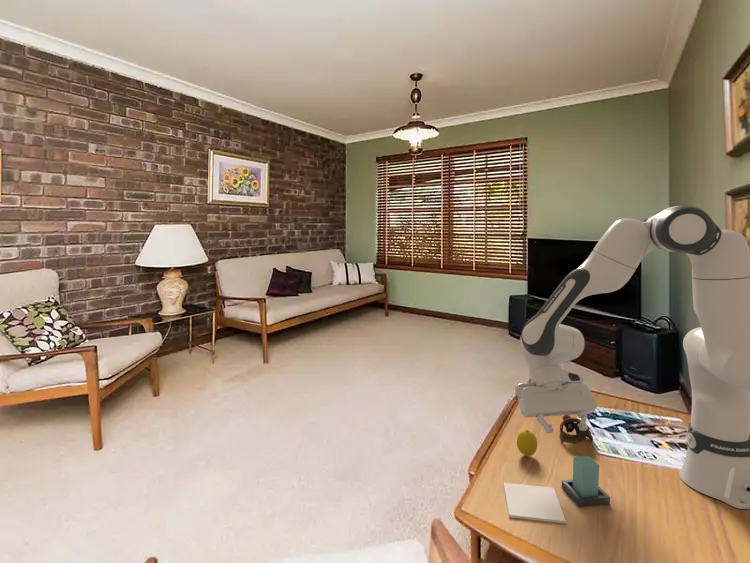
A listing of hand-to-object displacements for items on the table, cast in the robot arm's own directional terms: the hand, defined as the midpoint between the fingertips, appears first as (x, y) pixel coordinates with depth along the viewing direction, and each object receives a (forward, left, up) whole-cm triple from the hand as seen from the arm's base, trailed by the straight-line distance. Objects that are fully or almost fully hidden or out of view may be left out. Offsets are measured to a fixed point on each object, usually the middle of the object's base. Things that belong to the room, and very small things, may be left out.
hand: (567, 431), depth 104 cm
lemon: (+9, -8, -13) cm, 17 cm away
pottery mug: (-7, -20, -13) cm, 25 cm away
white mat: (+11, +13, -12) cm, 21 cm away
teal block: (-2, +8, -12) cm, 15 cm away
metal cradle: (-2, +8, -12) cm, 15 cm away
